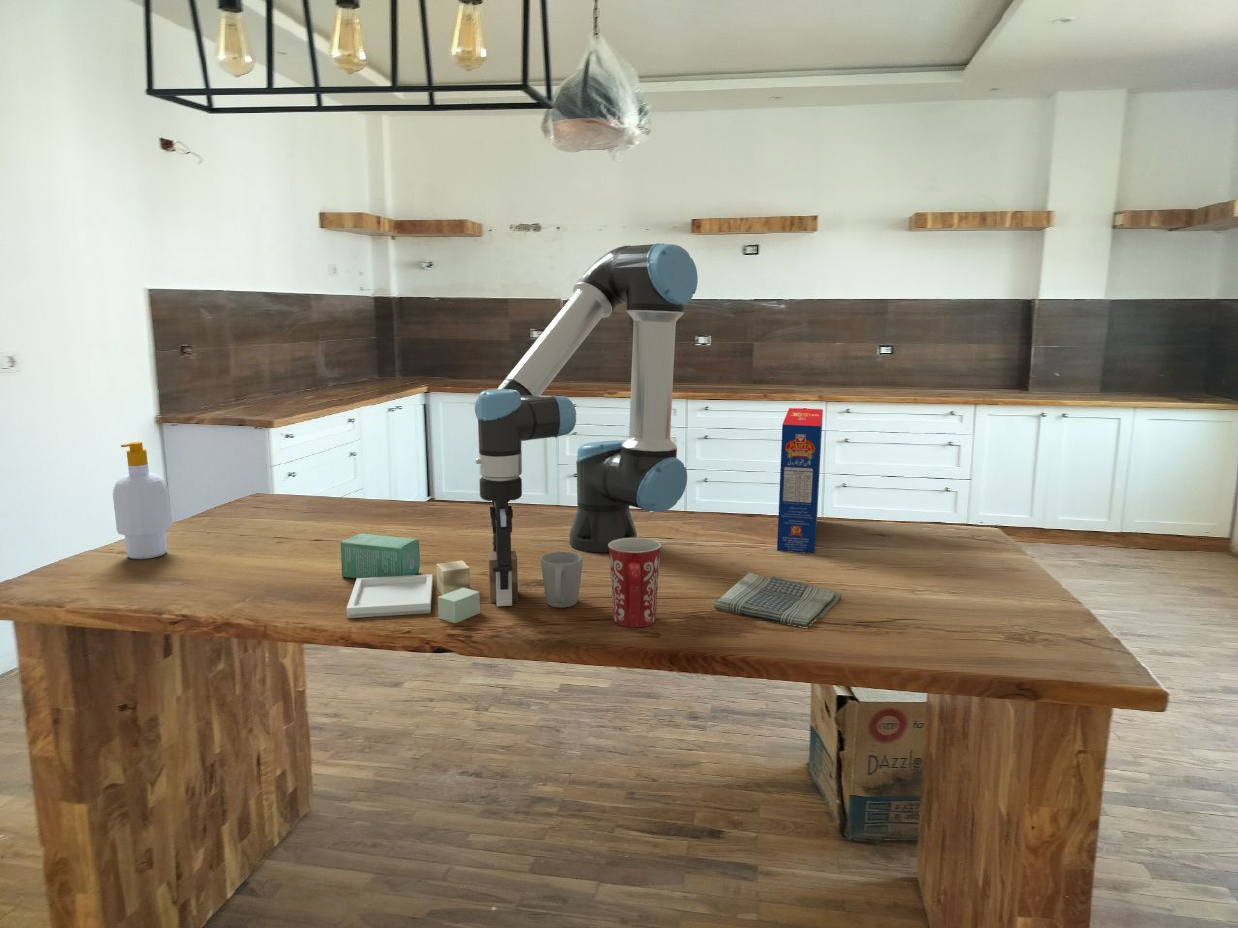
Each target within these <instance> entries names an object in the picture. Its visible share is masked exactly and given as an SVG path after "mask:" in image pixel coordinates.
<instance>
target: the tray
mask: <svg viewBox="0 0 1238 928" xmlns="http://www.w3.org/2000/svg"><path fill="white" fill-rule="evenodd" d="M433 583H434V580H433V573H431V574H429V573H427V574H416V575H408V576H390V577H371V578H355V582H354V585H353V588H352V591H351V595H350V597H349V600H348V603H347V605H346V618H347V619H355V618H366V617H367V618H370V617H371V618H372V617H373V618H374V617H385V616H386V617H387V616H390V617H391V616H402V615H403V616H405V615H417V614H418V615H420V614H431V612H432V610H431V609H432V597H433V586H434V585H433Z"/></svg>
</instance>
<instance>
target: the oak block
mask: <svg viewBox="0 0 1238 928" xmlns="http://www.w3.org/2000/svg"><path fill="white" fill-rule="evenodd" d="M470 568H471V567H469V566H468V565H467V563H465V561H464V560H455V561H448V562H441V563H436V568H435V569H436V589H437V590H438V592H439V593H440V594H441V596H442V595H444V594H447V593H450V592H452V591H455V590H458V589H460V588H463V587H464V588H467V589H471V573H470V572H471V570H470Z"/></svg>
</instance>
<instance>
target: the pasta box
mask: <svg viewBox="0 0 1238 928" xmlns="http://www.w3.org/2000/svg"><path fill="white" fill-rule="evenodd" d="M823 413H824V410H823V409H822V408H803V407H802V408H797V407H795V408H794V407H793V408H792V407H789V408H788V410H787V412H786V415H785V417H784V419H783V422H782V424H781V425H782V427H781V447H780V450H781V451H780V467H779V468H780V470H779V471H780V472H779V492H778V493H779V494H778V495H779V496H778V518H777V522H778V523H777V539H776V542H777V543H776V544H777V545H776V551H777V552H787V551H793V552H792V553H800V552H805V554H815V553H816V552H815V550H816V537H817V525H818V513H819V510H818V509H819V492H820V491H819V490H820V489H819V488H820V475H821V474H820V473H821V470H820V469H821V455H822V454H821V451H822V436H823V435H822V434H823V433H822V432H823Z"/></svg>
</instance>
